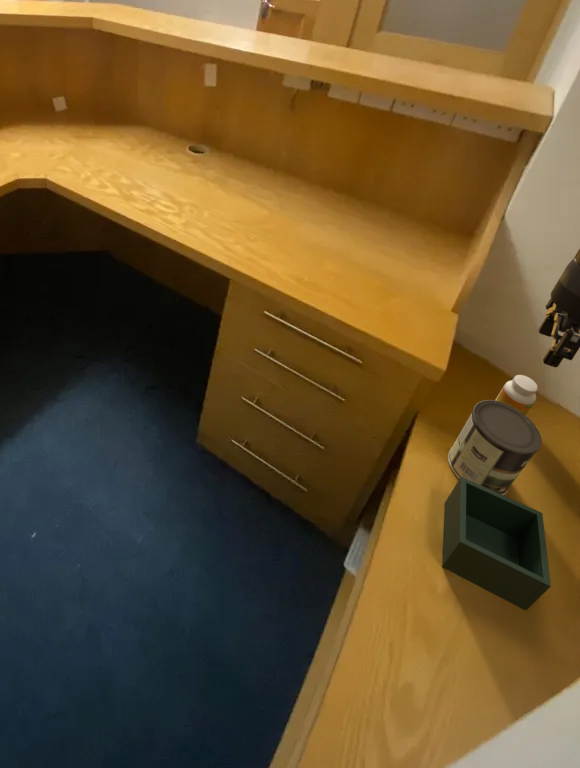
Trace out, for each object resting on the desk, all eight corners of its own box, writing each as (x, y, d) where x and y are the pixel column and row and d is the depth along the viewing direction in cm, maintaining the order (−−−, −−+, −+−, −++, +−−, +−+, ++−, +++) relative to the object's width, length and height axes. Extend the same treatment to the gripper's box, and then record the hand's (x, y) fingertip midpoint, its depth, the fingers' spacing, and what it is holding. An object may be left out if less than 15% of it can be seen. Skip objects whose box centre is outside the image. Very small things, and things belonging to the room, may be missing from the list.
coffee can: (511, 464, 98) (543, 420, 90) (506, 509, 91) (540, 465, 83) (451, 433, 103) (477, 389, 96) (442, 474, 96) (469, 430, 89)
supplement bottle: (518, 429, 104) (538, 399, 99) (488, 411, 107) (506, 382, 102) (525, 413, 107) (545, 383, 102) (496, 396, 110) (514, 367, 105)
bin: (520, 538, 87) (542, 512, 82) (526, 611, 78) (550, 586, 74) (444, 502, 92) (461, 476, 87) (441, 566, 83) (460, 541, 78)
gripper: (623, 320, 82) (576, 384, 91) (606, 270, 93) (565, 331, 101) (566, 303, 85) (526, 366, 94) (556, 256, 96) (521, 317, 104)
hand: (546, 348), depth 97 cm, fingers open, 8 cm apart
